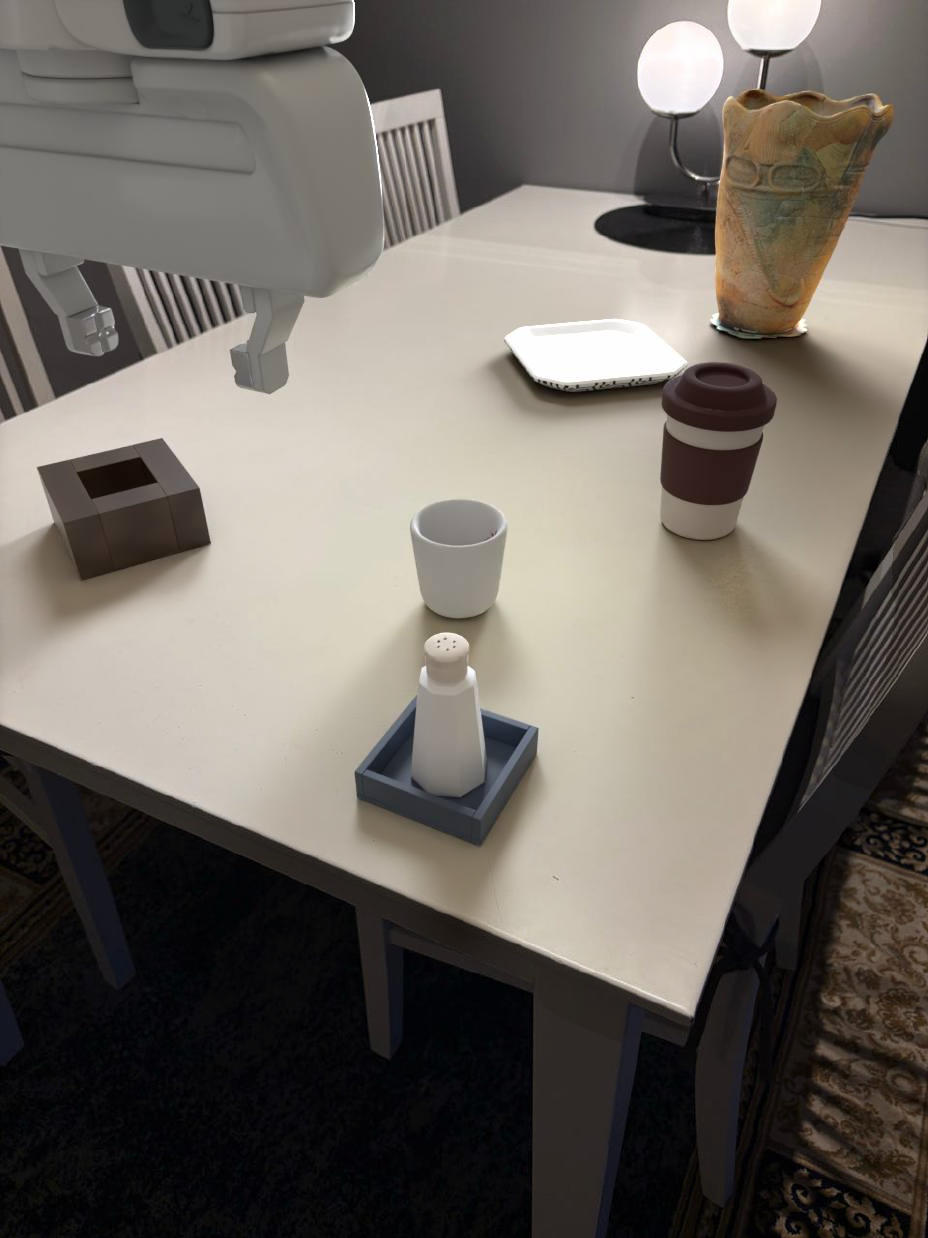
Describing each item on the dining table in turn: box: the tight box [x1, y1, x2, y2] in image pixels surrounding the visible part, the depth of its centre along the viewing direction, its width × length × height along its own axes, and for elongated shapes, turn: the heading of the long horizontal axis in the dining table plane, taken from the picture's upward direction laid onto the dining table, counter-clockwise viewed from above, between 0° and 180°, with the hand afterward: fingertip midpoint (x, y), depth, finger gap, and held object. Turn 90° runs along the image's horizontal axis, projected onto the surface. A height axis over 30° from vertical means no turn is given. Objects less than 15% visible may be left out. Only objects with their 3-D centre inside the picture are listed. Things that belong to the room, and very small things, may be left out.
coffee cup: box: [659, 361, 778, 541], centre depth 84 cm, size 10×10×15 cm
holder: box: [36, 437, 212, 581], centre depth 86 cm, size 12×12×6 cm
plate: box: [503, 318, 688, 393], centre depth 121 cm, size 21×21×2 cm
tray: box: [354, 694, 540, 847], centre depth 62 cm, size 9×9×2 cm
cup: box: [409, 498, 509, 619], centre depth 77 cm, size 11×8×8 cm
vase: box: [709, 88, 895, 339], centre depth 124 cm, size 21×20×30 cm
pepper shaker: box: [411, 632, 487, 797], centre depth 59 cm, size 5×5×11 cm
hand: (175, 368), depth 40 cm, fingers open, 8 cm apart
